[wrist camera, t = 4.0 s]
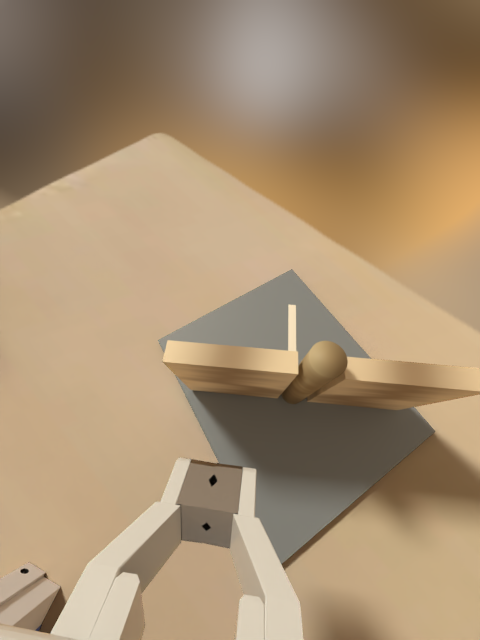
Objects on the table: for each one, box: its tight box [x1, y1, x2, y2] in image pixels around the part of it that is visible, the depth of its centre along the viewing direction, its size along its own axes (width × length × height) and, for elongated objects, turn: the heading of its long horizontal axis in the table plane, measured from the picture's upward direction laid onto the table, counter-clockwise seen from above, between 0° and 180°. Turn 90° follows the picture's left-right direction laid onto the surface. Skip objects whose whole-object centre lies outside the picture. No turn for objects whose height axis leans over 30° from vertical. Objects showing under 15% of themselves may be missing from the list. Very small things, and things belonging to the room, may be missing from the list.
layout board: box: [158, 269, 435, 564], centre depth 20 cm, size 15×18×1 cm
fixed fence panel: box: [281, 341, 480, 410], centre depth 16 cm, size 9×2×9 cm, turn 85°
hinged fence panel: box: [162, 340, 298, 398], centre depth 16 cm, size 7×1×8 cm, turn 85°
